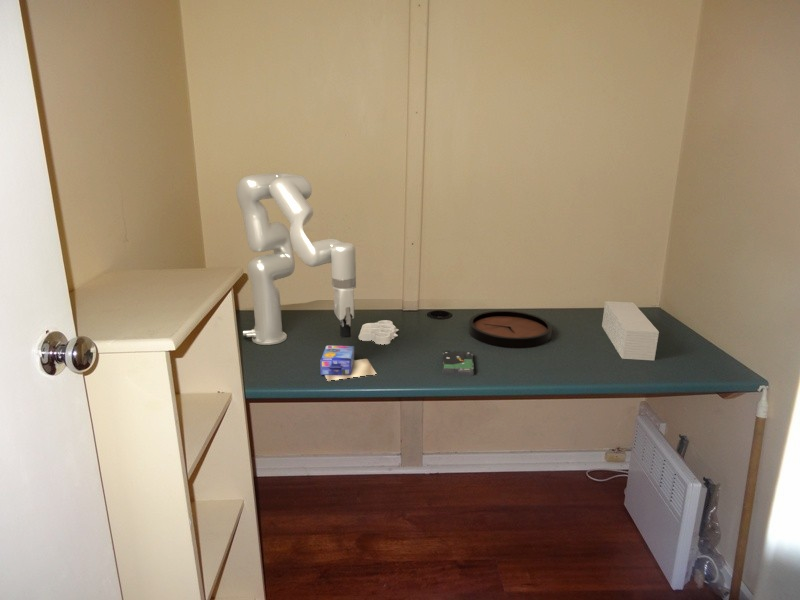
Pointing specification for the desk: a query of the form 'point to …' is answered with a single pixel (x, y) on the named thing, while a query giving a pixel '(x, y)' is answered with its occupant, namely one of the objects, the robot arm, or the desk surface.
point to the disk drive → (458, 363)
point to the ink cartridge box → (337, 360)
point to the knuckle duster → (378, 332)
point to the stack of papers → (630, 331)
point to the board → (355, 370)
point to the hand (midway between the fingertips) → (345, 336)
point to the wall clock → (510, 329)
